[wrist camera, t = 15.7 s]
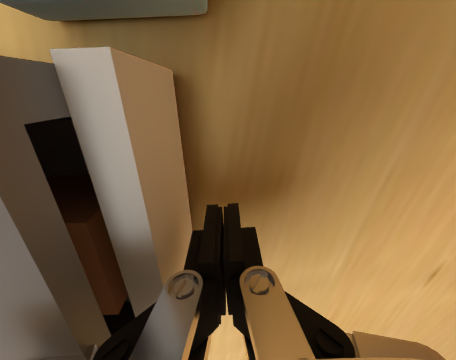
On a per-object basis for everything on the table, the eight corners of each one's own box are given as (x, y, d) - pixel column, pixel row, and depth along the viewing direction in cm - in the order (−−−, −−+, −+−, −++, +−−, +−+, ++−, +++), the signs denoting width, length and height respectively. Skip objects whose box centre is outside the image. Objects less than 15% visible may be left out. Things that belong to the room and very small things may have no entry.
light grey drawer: (172, 70, 11) (109, 47, 5) (199, 287, 17) (186, 392, 11) (-160, 83, 11) (-623, 76, 5) (-11, 296, 17) (-136, 406, 11)
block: (138, 172, 12) (85, 222, 8) (152, 241, 14) (118, 314, 10) (51, 175, 12) (-53, 227, 8) (78, 244, 14) (8, 318, 10)
